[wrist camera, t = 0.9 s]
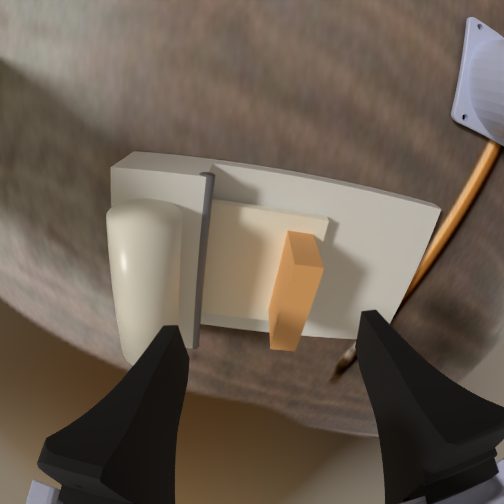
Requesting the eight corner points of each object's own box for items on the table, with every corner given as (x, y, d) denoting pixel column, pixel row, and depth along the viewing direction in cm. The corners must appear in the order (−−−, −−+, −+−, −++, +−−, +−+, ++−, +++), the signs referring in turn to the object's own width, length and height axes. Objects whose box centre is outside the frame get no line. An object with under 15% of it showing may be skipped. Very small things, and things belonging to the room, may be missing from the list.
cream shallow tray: (326, 216, 18) (344, 252, 15) (296, 317, 22) (302, 362, 19) (126, 188, 17) (96, 218, 14) (130, 295, 21) (111, 335, 18)
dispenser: (434, 203, 19) (493, 257, 13) (377, 332, 25) (402, 399, 19) (134, 151, 18) (76, 191, 11) (137, 304, 24) (108, 375, 17)
